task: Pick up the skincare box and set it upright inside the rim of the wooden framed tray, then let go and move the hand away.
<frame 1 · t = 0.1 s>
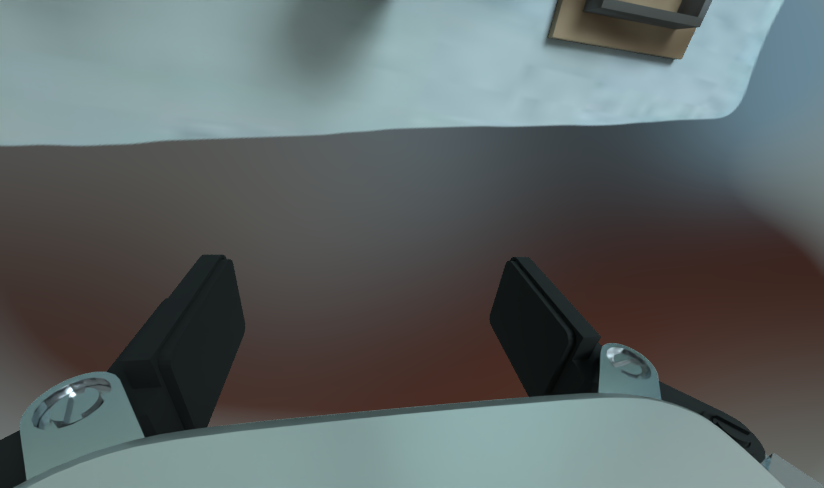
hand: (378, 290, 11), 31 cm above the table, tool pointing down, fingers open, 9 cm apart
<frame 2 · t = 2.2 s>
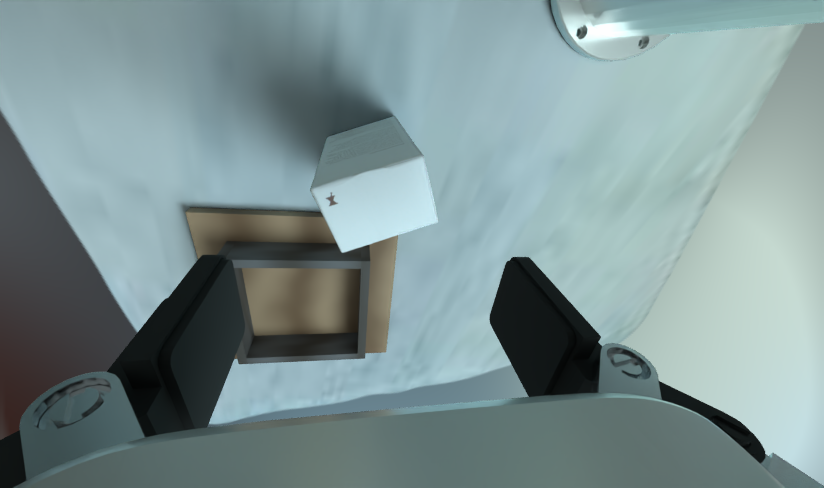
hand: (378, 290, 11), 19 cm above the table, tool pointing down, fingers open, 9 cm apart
wooden framed tray: (306, 289, 33), on the table
skincare box: (369, 149, 27), on the table
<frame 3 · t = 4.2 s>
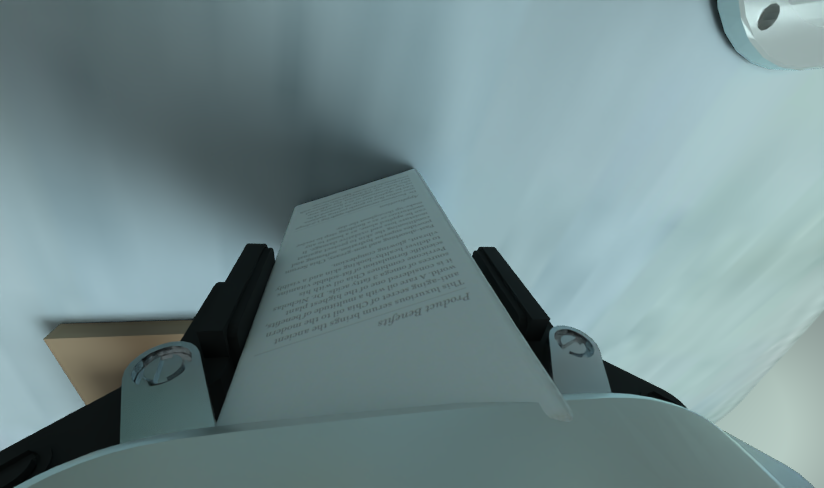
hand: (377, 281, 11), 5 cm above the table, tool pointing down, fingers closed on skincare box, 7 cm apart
wooden framed tray: (273, 415, 22), on the table
skincare box: (371, 221, 16), on the table, touching gripper
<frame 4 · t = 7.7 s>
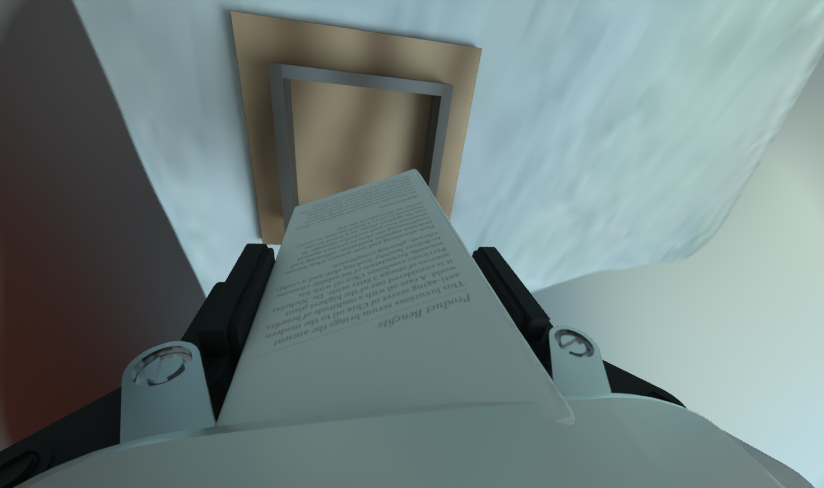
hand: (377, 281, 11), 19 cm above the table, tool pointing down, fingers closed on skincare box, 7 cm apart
wooden framed tray: (361, 152, 28), on the table
skincare box: (371, 221, 16), point 14 cm above the table, touching gripper
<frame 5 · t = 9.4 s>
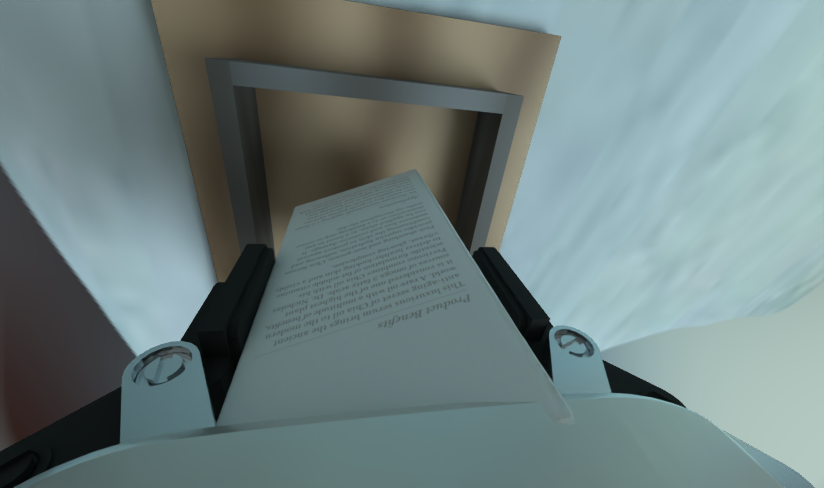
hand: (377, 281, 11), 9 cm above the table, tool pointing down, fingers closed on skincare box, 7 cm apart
wooden framed tray: (368, 192, 19), on the table
skincare box: (371, 222, 16), point 4 cm above the table, touching gripper
when the fingers open (6 cm above the table, at t = 11.0 s): skincare box stays where it is, resting on wooden framed tray.
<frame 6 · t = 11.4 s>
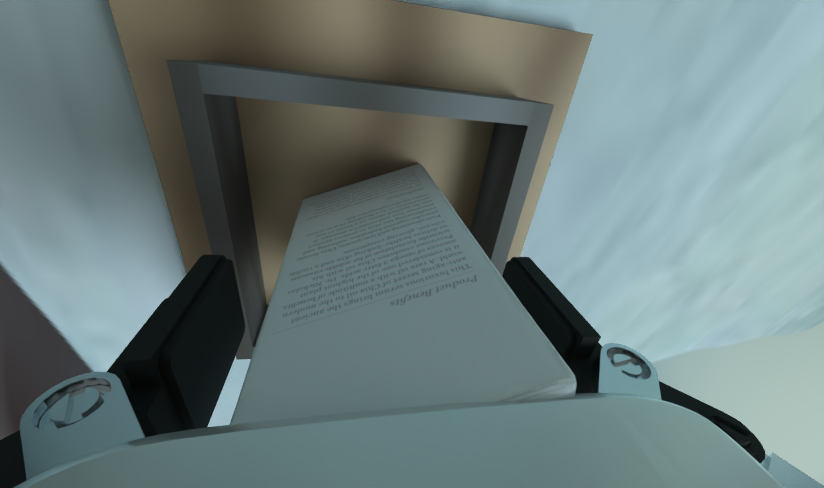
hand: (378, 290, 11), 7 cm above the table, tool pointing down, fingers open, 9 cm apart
wooden framed tray: (369, 211, 17), on the table
skincare box: (376, 215, 16), point 1 cm above the table, touching wooden framed tray
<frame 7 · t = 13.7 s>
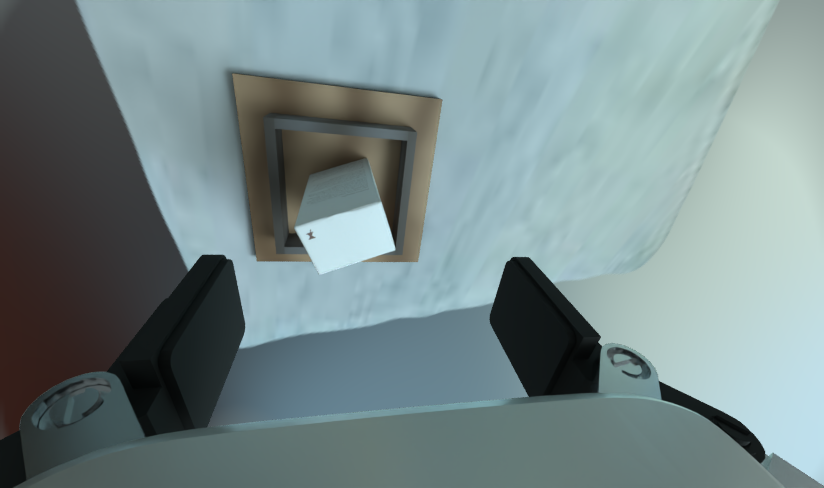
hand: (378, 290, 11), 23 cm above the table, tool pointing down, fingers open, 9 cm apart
wooden framed tray: (343, 183, 32), on the table
skincare box: (346, 184, 32), point 1 cm above the table, touching wooden framed tray
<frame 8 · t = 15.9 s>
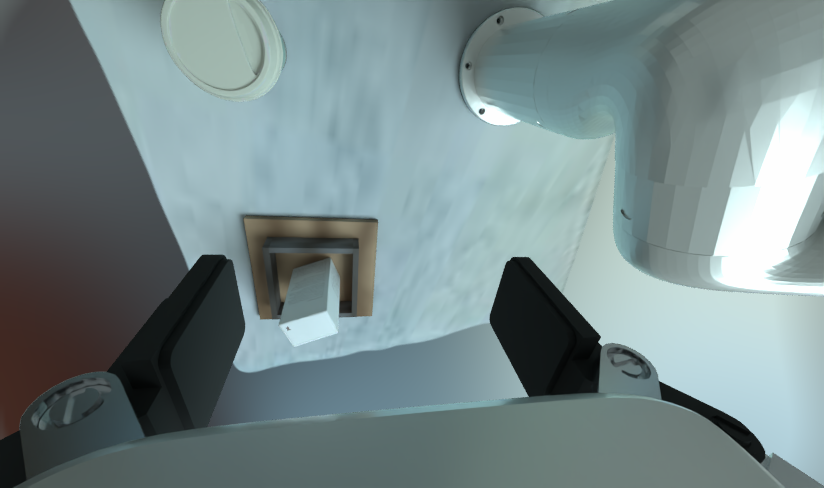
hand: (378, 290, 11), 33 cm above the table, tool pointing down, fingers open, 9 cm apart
coffee cup: (258, 48, 34), on the table
wooden framed tray: (316, 269, 49), on the table
skincare box: (318, 272, 48), point 1 cm above the table, touching wooden framed tray
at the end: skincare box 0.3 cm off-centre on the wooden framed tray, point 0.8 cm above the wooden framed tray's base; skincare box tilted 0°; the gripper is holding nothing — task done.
